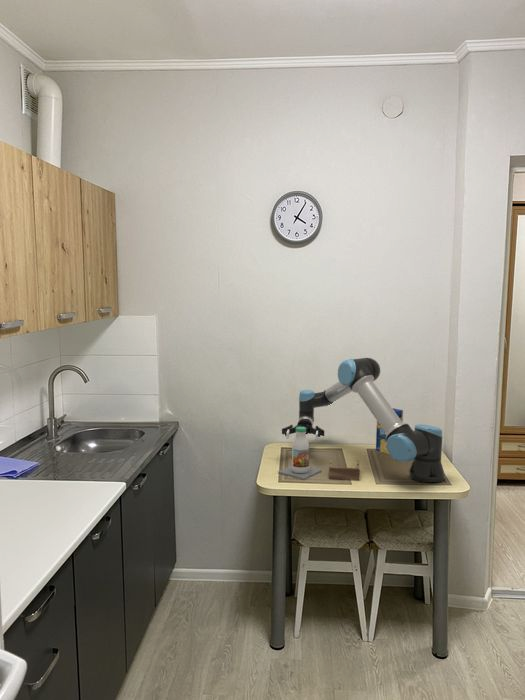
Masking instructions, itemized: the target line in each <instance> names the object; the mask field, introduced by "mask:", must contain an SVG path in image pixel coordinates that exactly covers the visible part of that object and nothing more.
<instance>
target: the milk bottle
mask: <svg viewBox="0 0 525 700" xmlns="http://www.w3.org/2000/svg"><path fill="white" fill-rule="evenodd" d="M305 433H306V428H305V427H296V433H295V437H294V440H293V441H292V445H291V446H292V447H291V466H292V471H293V472H295V473H307V472H308V471H309V467H310V445H309V444H310V443H309V441H308V440H309V439H307V434H305Z"/></svg>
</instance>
